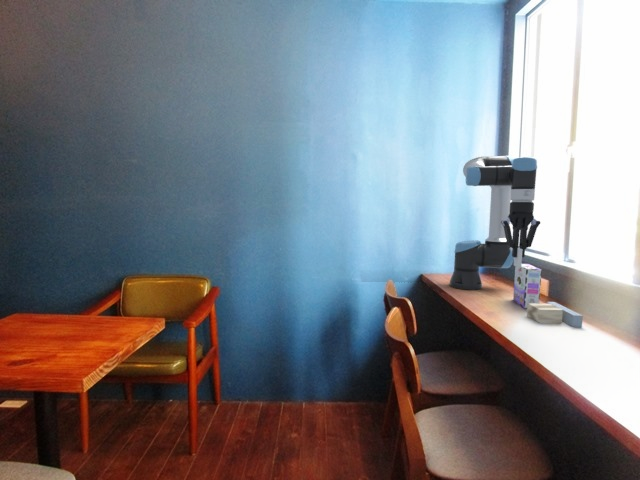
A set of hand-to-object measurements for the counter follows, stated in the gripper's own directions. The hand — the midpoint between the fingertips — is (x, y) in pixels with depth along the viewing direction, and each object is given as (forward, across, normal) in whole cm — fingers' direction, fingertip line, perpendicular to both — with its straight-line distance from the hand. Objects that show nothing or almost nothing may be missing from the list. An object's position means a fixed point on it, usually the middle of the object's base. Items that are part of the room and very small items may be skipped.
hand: (517, 266), depth 131 cm
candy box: (+20, +13, +19) cm, 30 cm away
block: (+20, +10, -1) cm, 22 cm away
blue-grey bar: (+19, +17, 0) cm, 26 cm away
